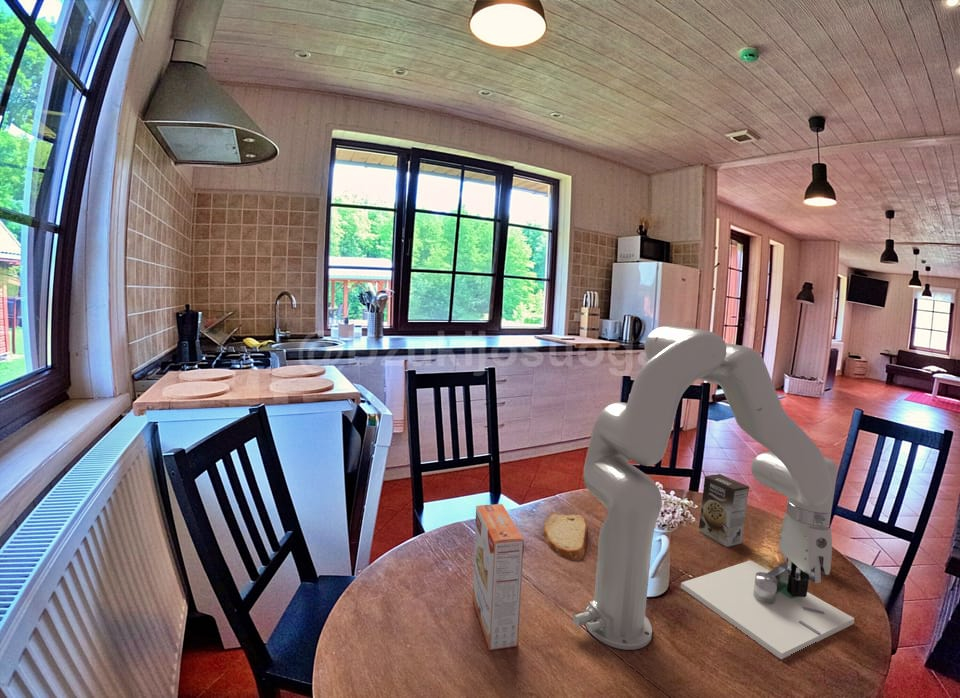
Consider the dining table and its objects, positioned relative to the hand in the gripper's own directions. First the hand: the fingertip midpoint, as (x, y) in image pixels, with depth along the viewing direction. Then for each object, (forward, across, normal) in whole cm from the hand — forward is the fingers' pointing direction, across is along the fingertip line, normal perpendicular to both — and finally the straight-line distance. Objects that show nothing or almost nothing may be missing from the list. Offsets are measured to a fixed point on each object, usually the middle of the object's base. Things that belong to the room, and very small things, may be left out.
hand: (796, 594), depth 99 cm
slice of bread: (+3, +22, +45) cm, 50 cm away
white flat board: (+2, -2, +8) cm, 8 cm away
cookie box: (+2, +27, +3) cm, 27 cm away
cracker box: (+3, -12, +65) cm, 66 cm away
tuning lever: (0, +1, +4) cm, 4 cm away
